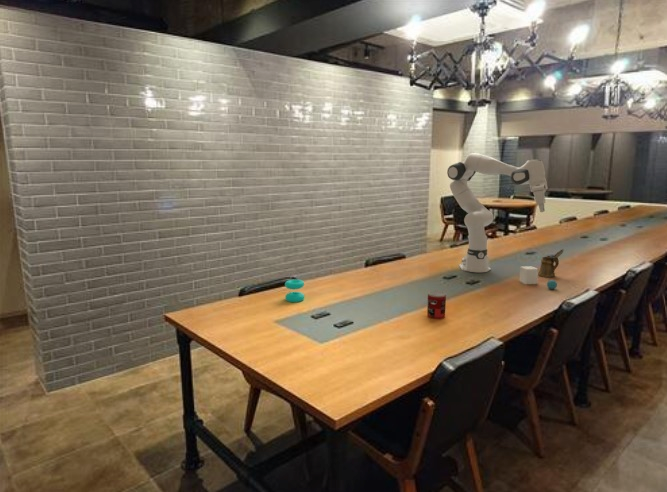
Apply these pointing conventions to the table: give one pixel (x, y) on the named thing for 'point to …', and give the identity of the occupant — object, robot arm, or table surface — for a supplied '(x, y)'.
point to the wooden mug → (549, 265)
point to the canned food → (436, 304)
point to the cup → (528, 275)
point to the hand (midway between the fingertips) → (542, 211)
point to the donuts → (294, 295)
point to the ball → (551, 284)
